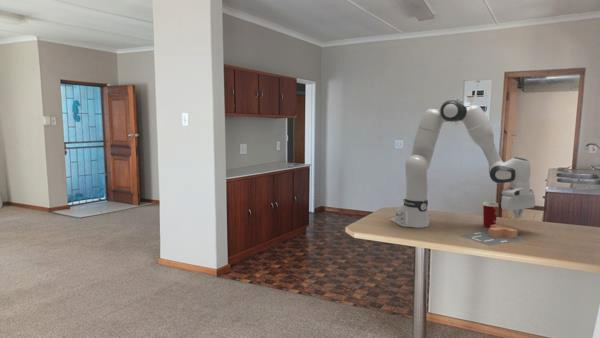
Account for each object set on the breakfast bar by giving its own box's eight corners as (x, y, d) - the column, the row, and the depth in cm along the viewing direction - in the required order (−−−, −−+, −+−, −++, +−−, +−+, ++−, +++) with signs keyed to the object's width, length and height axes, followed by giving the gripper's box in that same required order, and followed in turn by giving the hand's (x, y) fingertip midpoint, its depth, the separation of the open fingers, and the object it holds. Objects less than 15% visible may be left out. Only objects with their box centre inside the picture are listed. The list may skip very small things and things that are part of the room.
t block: (481, 234, 202) (481, 226, 201) (495, 232, 206) (496, 224, 205) (502, 240, 191) (502, 232, 190) (517, 238, 195) (517, 230, 195)
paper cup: (499, 230, 212) (500, 204, 210) (483, 229, 214) (484, 203, 212) (495, 226, 220) (496, 201, 218) (479, 226, 221) (481, 200, 220)
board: (458, 237, 200) (458, 234, 199) (494, 231, 210) (494, 229, 210) (489, 247, 183) (489, 245, 183) (526, 241, 194) (527, 238, 194)
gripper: (527, 187, 208) (526, 214, 209) (499, 191, 199) (498, 218, 201) (539, 189, 202) (537, 216, 204) (510, 193, 194) (509, 221, 195)
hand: (517, 217), depth 202 cm, fingers closed
